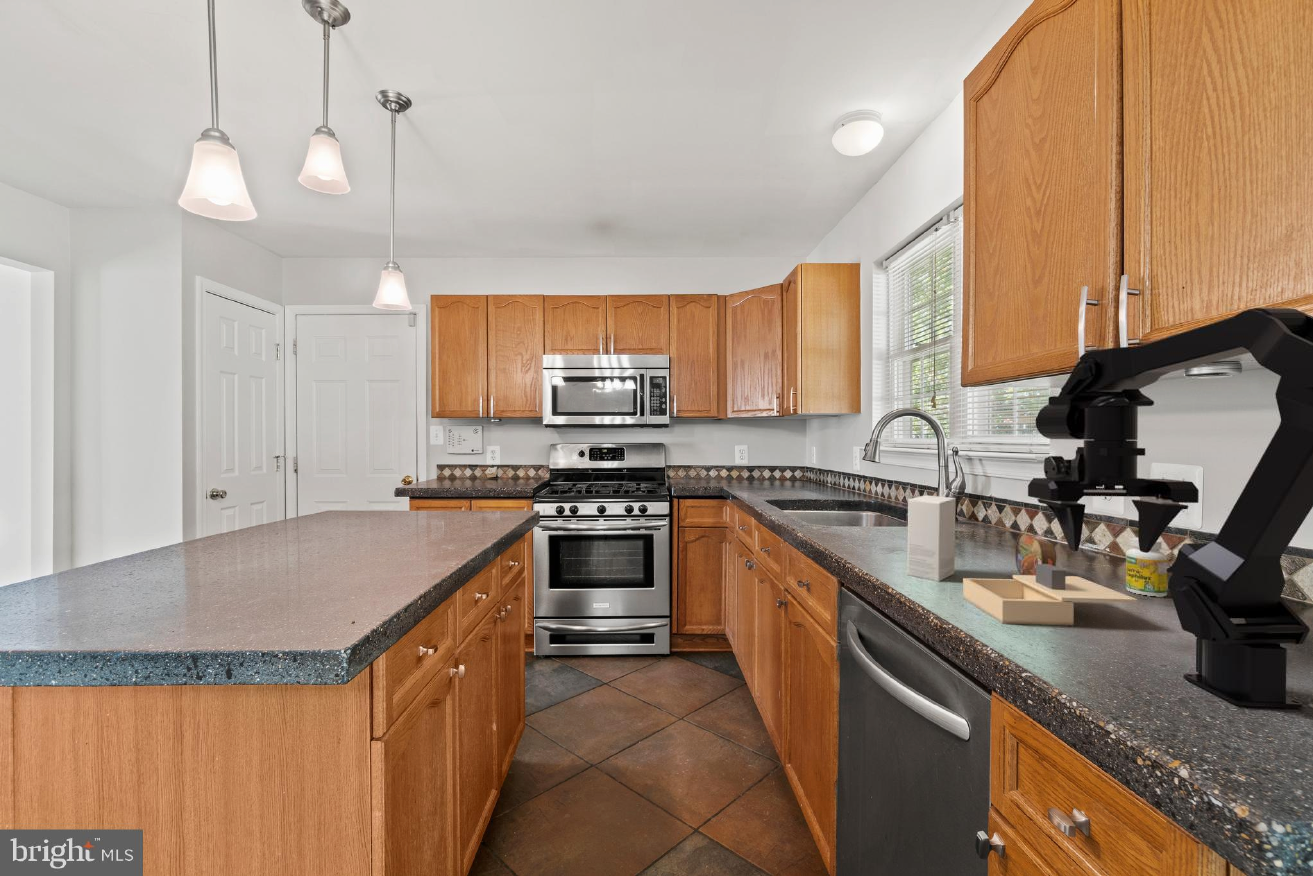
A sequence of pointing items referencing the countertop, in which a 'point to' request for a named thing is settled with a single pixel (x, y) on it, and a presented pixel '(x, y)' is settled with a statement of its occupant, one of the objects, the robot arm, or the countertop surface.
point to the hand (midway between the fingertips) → (1108, 551)
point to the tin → (1033, 553)
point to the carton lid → (1070, 586)
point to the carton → (1016, 602)
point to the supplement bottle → (1146, 570)
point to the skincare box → (931, 537)
